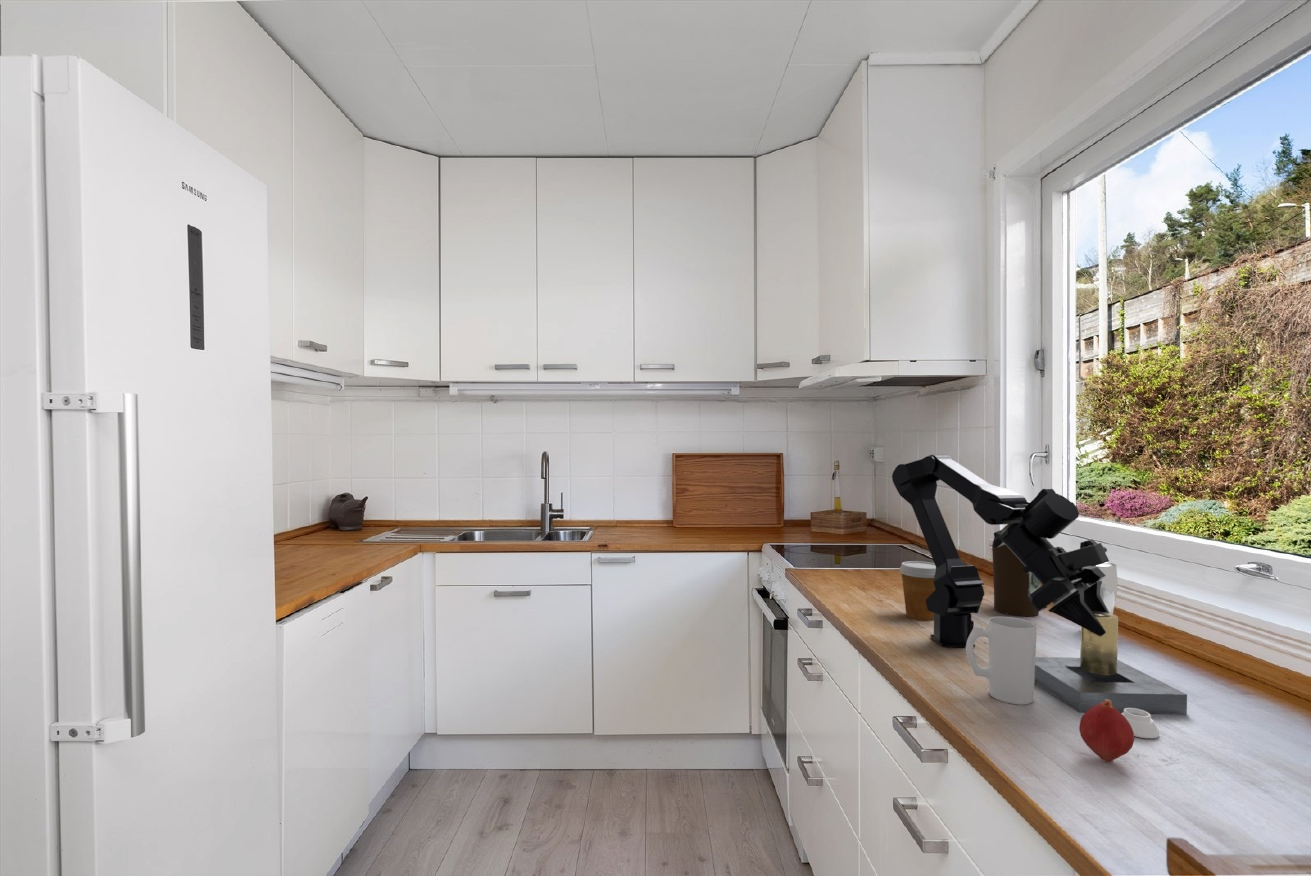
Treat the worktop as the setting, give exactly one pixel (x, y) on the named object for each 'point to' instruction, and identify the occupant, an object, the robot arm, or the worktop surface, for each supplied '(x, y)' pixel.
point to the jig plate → (1107, 687)
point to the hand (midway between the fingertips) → (1108, 631)
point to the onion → (1106, 731)
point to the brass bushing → (1100, 646)
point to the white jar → (1141, 723)
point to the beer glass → (1108, 585)
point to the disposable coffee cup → (918, 588)
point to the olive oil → (1012, 583)
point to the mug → (1007, 658)
